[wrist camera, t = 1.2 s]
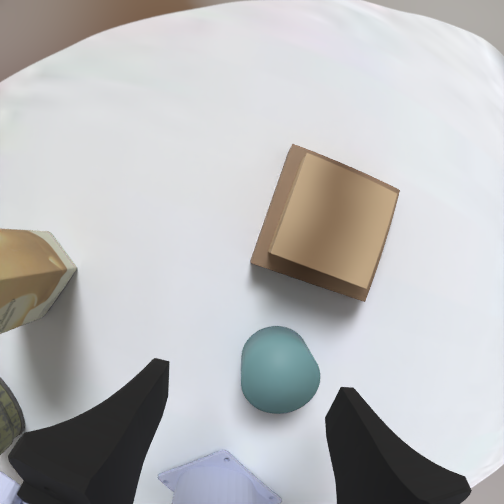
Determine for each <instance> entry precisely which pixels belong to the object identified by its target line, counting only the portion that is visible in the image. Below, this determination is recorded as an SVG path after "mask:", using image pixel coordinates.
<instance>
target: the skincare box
mask: <svg viewBox="0 0 504 504" xmlns="http://www.w3.org/2000/svg"><path fill="white" fill-rule="evenodd" d="M76 269H77V267H76V266H75V264H74V263H73V262H72V260H71V259H70V258H69V256H68V255H67V254H66V252H65V251H64V250H63V248H62V247H61V246H60V244H59V243H58V242H57V240H56V239H55V238H54V236H53V235H52V234H51V233H50V232H49V231H33V230H16V229H0V334H1V333H4V332H7V331H9V330H11V329H14V328H16V327H19V326H22V325H24V324H27V323H29V322H32V321H35V320H37V319H40V318H42V317H44V315H45V314H46V313H47V311H48V310H49V309H50V307H51V306H52V304H53V303H54V302H55V300H56V299H57V297H58V296H59V295H60V293H61V291H62V290H63V289H64V287H65V286H66V284H67V283H68V281H69V280H70V278H71V277H72V275H73V274H74V272H75V271H76Z"/></svg>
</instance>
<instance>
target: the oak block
mask: <svg viewBox="0 0 504 504" xmlns="http://www.w3.org/2000/svg"><path fill="white" fill-rule="evenodd" d="M396 197H397V193H395V192H393V191H391V190H389V189H387V188H385V187H383V186H381V185H379V184H377V183H375V182H373V181H371V180H369V179H366V178H364V177H362V176H360V175H358V174H356V173H353V172H351V171H349V170H347V169H345V168H342V167H340V166H338V165H335V164H333V163H331V162H328V161H326V160H324V159H321V158H319V157H316V156H314V155H312V154H309V153H306V155H305V156H304V158H303V159H302V160H301V162H300V164H299V167H298V170H297V173H296V176H295V178H294V181H293V184H292V187H291V189H290V192H289V195H288V198H287V200H286V203H285V206H284V209H283V211H282V214H281V217H280V220H279V222H278V225H277V228H276V230H275V233H274V236H273V239H272V241H271V244H270V247H269V249H268V252H270V253H272V254H274V255H277V256H280V257H283V258H285V259H288V260H291V261H293V262H296V263H299V264H301V265H304V266H307V267H309V268H312V269H315V270H317V271H320V272H323V273H326V274H328V275H331V276H334V277H336V278H339V279H342V280H344V281H347V282H350V283H352V284H355V285H358V286H360V287H363V288H366V289H367V287H368V284H369V281H370V279H371V276H372V273H373V270H374V267H375V265H376V262H377V259H378V256H379V253H380V250H381V247H382V244H383V241H384V238H385V235H386V231H387V228H388V225H389V222H390V218H391V215H392V211H393V208H394V204H395V201H396Z"/></svg>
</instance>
